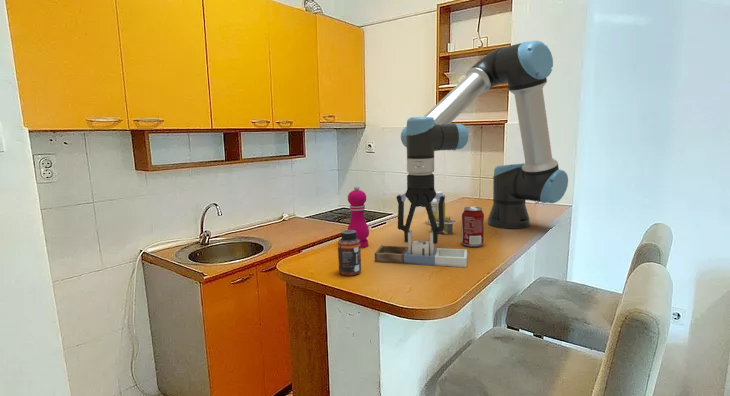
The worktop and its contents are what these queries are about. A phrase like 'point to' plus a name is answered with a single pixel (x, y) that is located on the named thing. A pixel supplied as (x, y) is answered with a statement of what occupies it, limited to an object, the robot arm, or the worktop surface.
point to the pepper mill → (358, 215)
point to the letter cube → (421, 248)
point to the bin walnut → (390, 254)
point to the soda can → (472, 226)
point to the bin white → (451, 257)
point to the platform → (445, 225)
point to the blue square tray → (420, 259)
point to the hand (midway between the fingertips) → (421, 253)
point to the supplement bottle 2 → (436, 206)
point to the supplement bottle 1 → (349, 253)
